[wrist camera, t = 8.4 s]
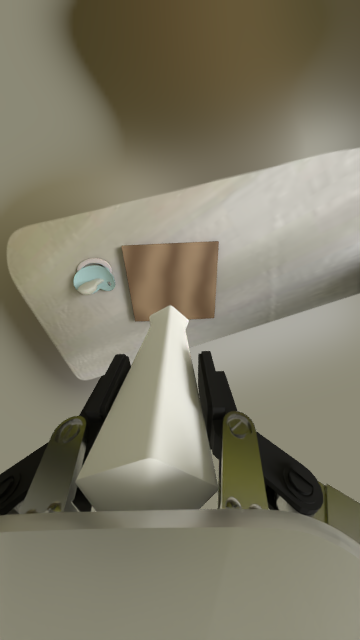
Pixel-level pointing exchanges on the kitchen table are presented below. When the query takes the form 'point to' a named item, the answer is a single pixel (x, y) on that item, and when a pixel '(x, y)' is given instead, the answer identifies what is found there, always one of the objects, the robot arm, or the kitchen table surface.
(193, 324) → the kitchen table surface
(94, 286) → the pacifier
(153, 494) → the white tall faceted piece
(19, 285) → the kitchen table surface
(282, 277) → the kitchen table surface
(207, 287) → the walnut board
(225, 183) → the kitchen table surface
